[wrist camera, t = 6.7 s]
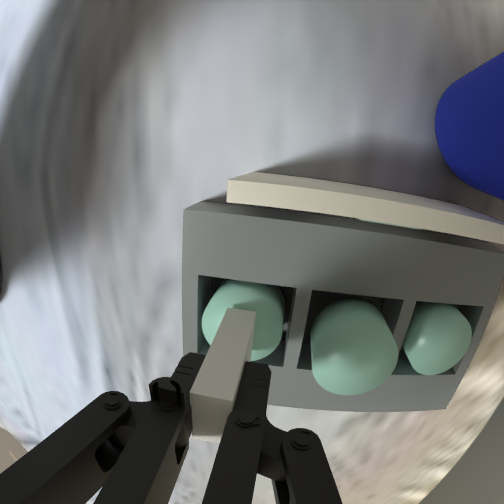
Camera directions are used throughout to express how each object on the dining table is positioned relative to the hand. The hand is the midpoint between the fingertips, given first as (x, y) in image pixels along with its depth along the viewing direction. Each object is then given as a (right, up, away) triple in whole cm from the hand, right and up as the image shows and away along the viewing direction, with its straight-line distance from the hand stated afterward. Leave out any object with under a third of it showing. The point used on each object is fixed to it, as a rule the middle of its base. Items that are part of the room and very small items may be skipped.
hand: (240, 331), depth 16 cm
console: (+6, 0, +3) cm, 7 cm away
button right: (+12, -1, +2) cm, 12 cm away
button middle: (+6, 0, +1) cm, 6 cm away
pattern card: (+7, +8, +1) cm, 10 cm away
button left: (0, +1, +3) cm, 3 cm away
